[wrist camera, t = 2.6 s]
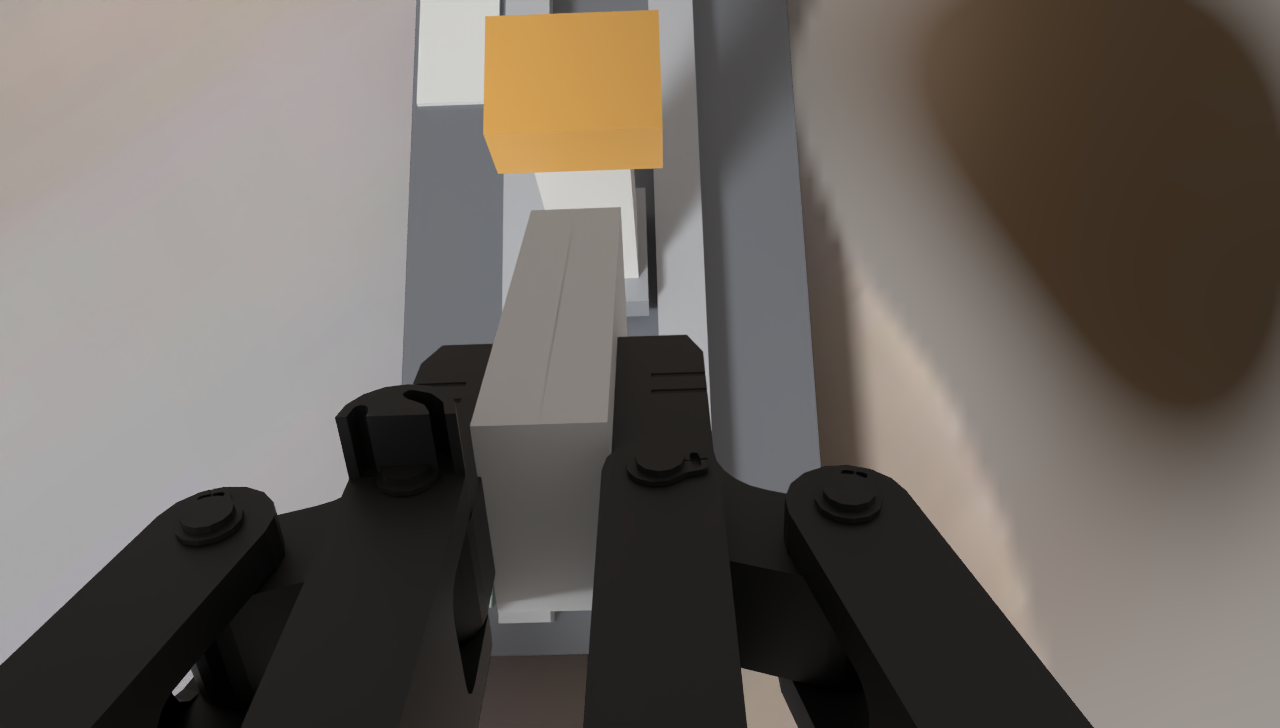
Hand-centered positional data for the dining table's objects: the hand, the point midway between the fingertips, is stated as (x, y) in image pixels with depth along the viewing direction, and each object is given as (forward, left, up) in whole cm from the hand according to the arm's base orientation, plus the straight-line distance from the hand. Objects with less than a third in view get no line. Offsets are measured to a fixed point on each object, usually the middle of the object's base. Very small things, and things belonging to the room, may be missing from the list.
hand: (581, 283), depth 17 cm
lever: (-6, +3, -16) cm, 17 cm away
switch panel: (-6, +3, -19) cm, 20 cm away
